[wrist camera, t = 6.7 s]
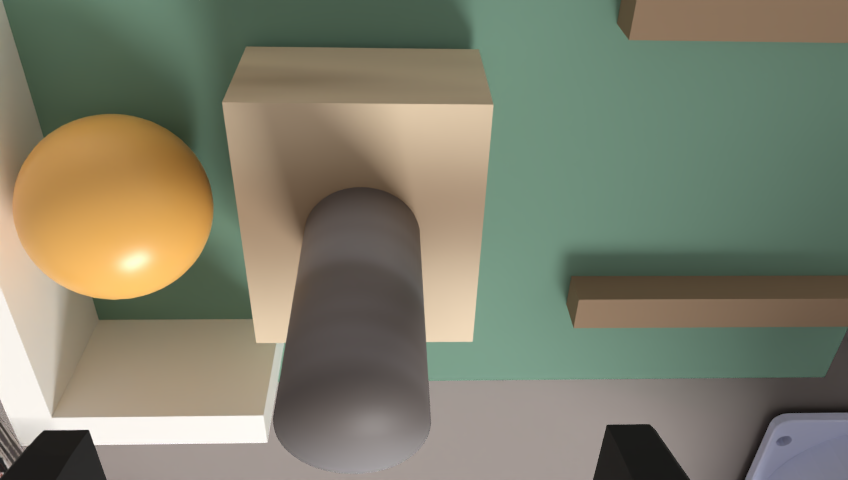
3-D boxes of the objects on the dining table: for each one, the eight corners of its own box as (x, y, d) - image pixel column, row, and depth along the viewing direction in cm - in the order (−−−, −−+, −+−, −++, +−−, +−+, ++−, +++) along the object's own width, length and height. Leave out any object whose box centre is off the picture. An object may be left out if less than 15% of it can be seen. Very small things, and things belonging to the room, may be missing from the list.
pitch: (809, 354, 24) (840, 401, 22) (78, 359, 23) (53, 409, 21) (1051, -182, 15) (1132, -169, 13) (-116, -213, 14) (-183, -204, 12)
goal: (283, 345, 21) (267, 442, 18) (71, 346, 21) (20, 445, 18) (232, -109, 14) (193, -65, 11) (-87, -116, 14) (-209, -73, 11)
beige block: (463, 268, 20) (498, 535, 13) (272, 268, 19) (214, 541, 13) (479, 49, 16) (536, 267, 10) (246, 46, 16) (149, 268, 9)
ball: (128, 215, 19) (257, 255, 18) (1, 306, 16) (146, 361, 15) (92, 71, 17) (238, 104, 16) (-63, 144, 14) (102, 193, 13)
